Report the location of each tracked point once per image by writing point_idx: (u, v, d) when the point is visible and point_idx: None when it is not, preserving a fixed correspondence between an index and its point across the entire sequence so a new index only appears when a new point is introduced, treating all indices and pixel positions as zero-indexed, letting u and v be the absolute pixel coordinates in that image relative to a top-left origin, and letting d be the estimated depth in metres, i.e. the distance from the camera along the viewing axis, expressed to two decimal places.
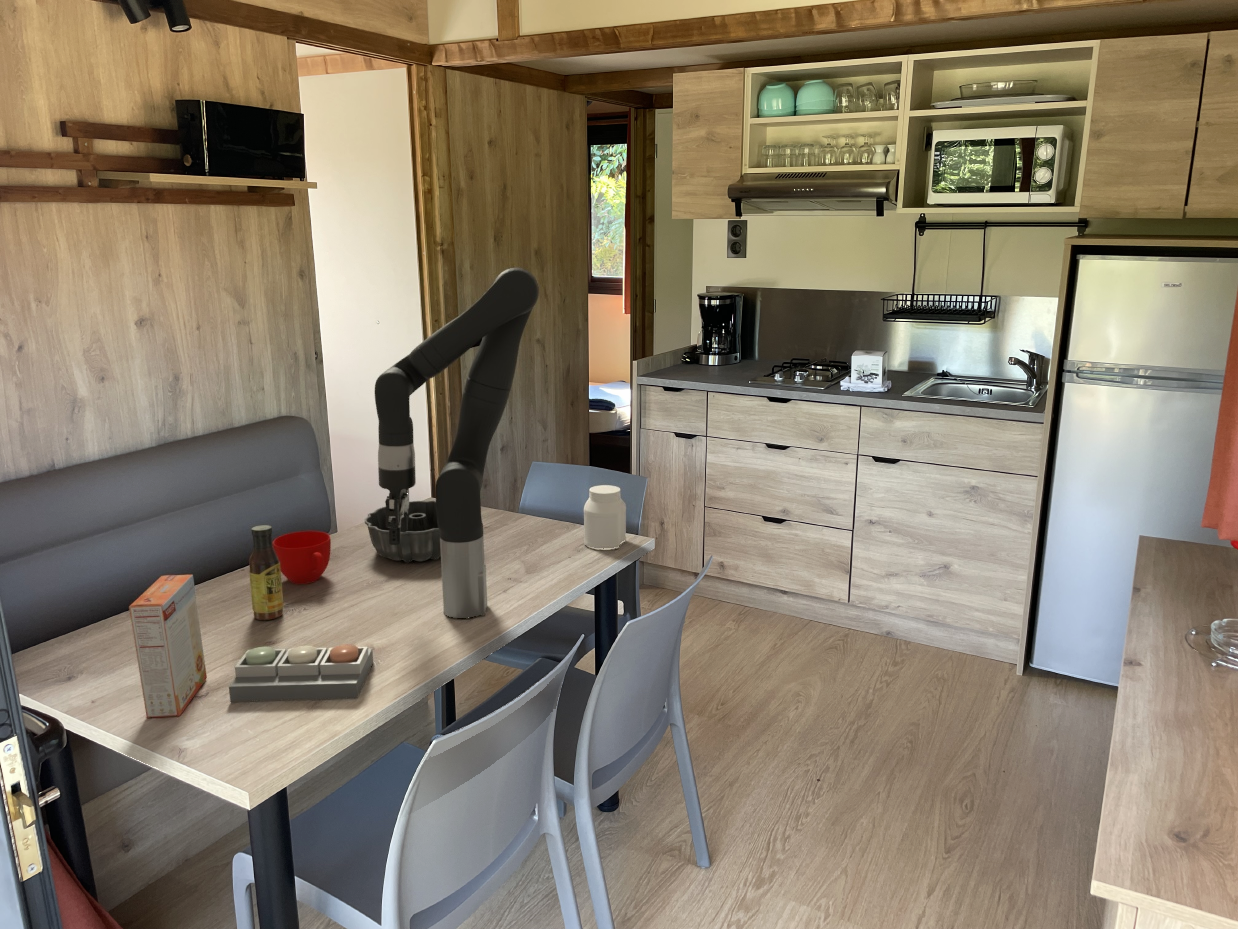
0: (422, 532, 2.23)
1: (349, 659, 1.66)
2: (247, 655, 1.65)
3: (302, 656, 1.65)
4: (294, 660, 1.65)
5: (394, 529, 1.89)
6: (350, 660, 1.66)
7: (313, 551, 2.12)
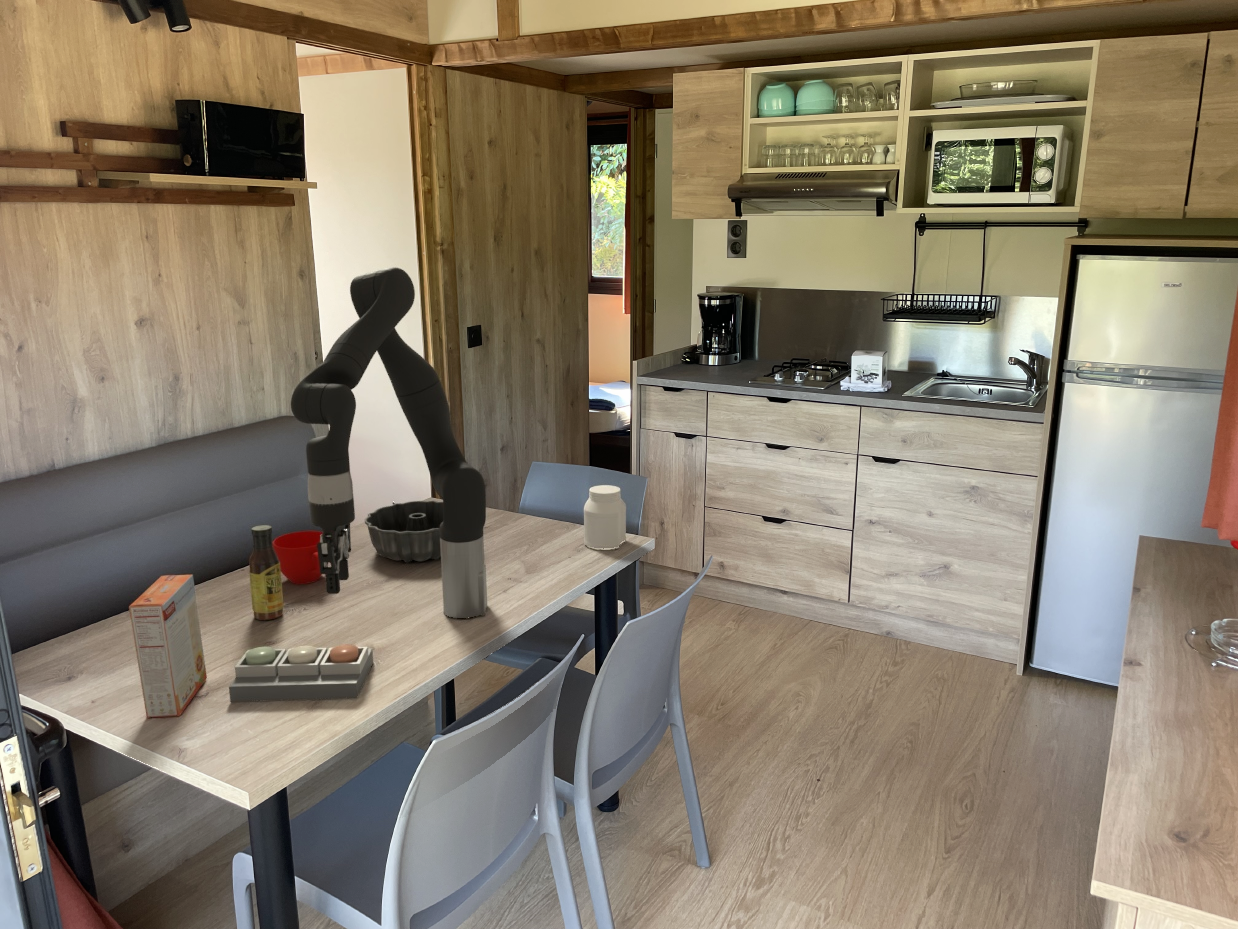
0: (422, 532, 2.23)
1: (349, 659, 1.66)
2: (247, 655, 1.65)
3: (302, 656, 1.65)
4: (294, 660, 1.65)
5: (331, 575, 1.59)
6: (350, 660, 1.66)
7: (313, 551, 2.12)
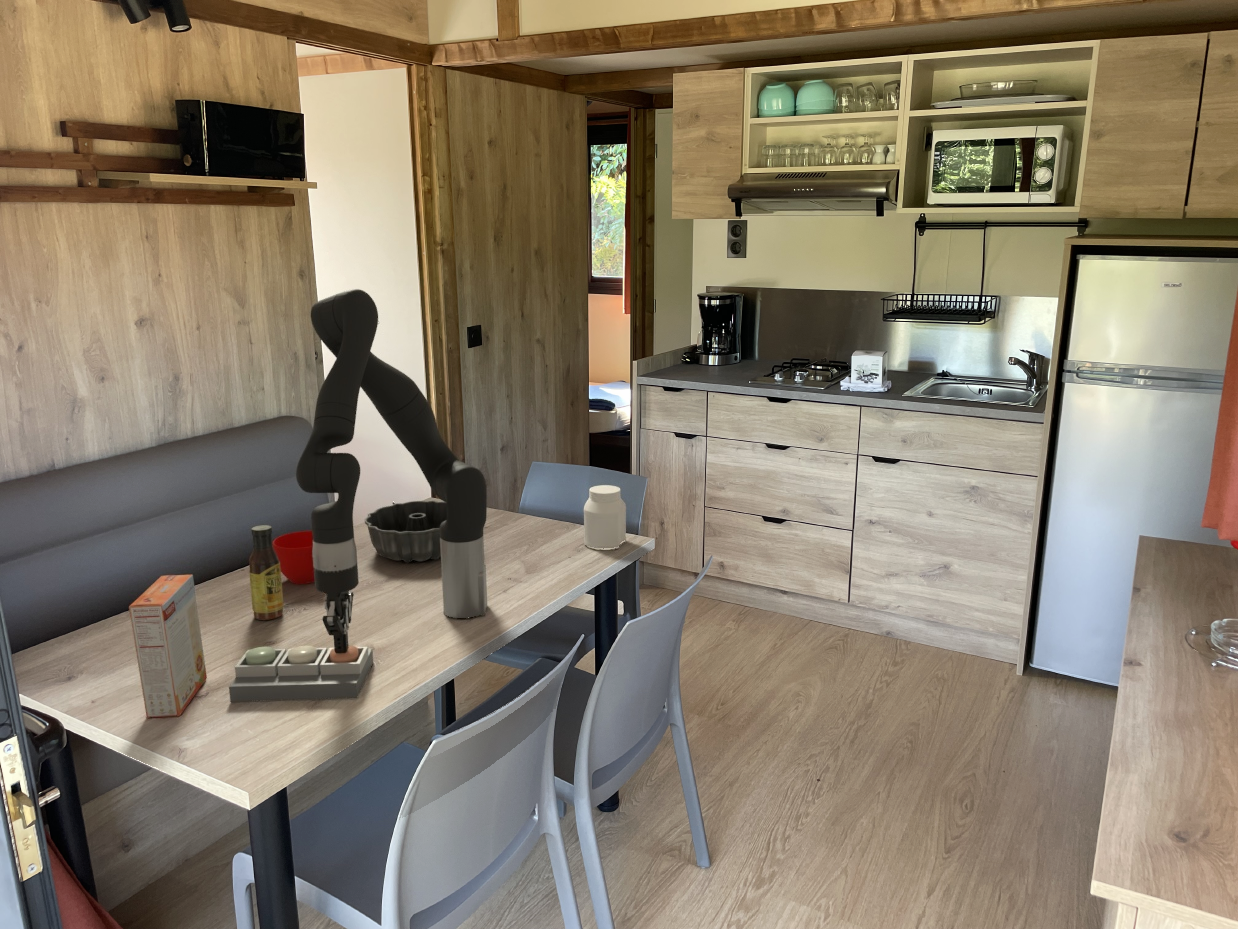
0: (422, 532, 2.23)
1: (349, 660, 1.66)
2: (247, 655, 1.65)
3: (302, 656, 1.65)
4: (294, 660, 1.65)
5: (339, 636, 1.65)
6: (350, 661, 1.66)
7: None
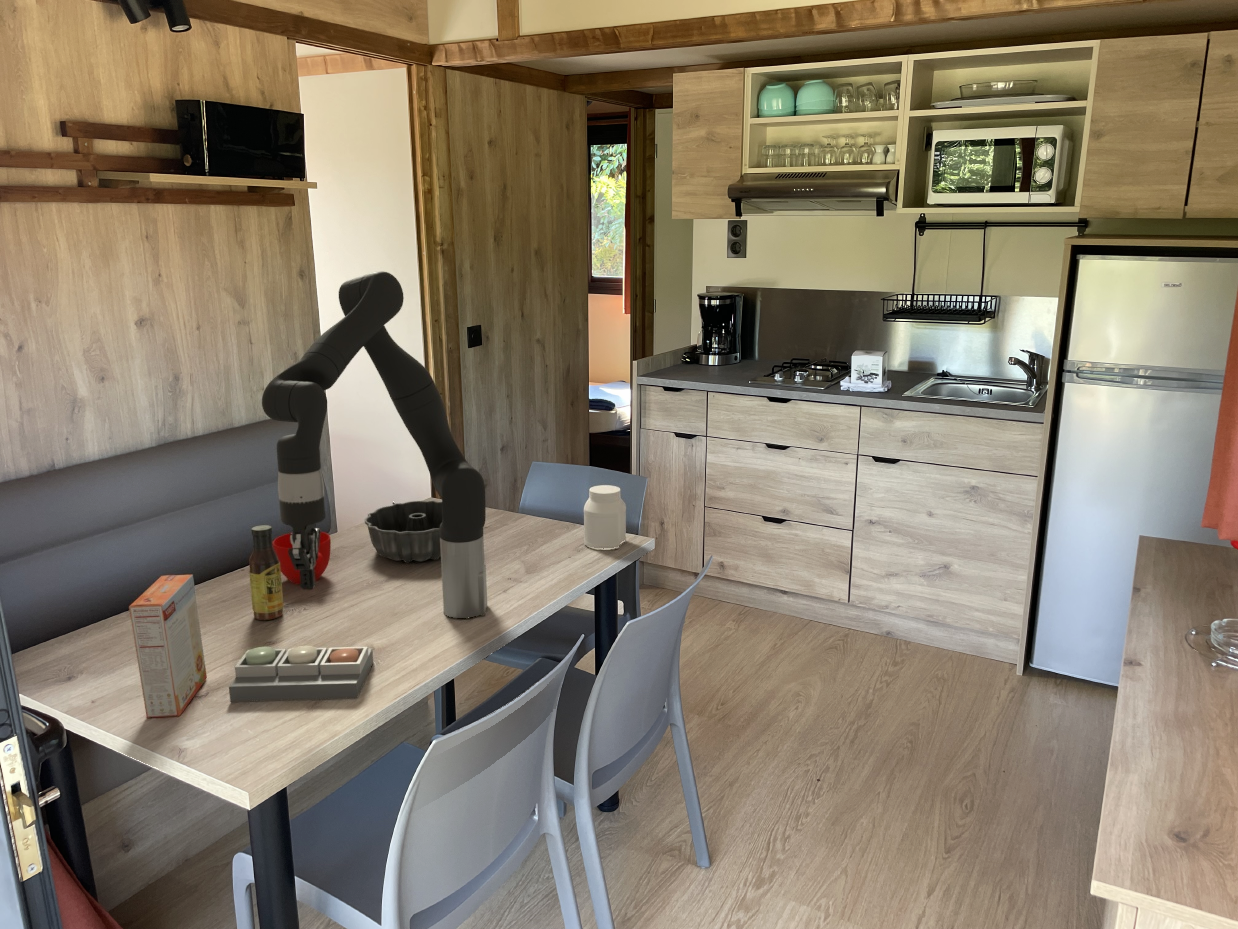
0: (422, 532, 2.23)
1: None
2: (247, 655, 1.65)
3: (302, 656, 1.65)
4: (294, 660, 1.65)
5: (305, 571, 1.61)
6: None
7: None
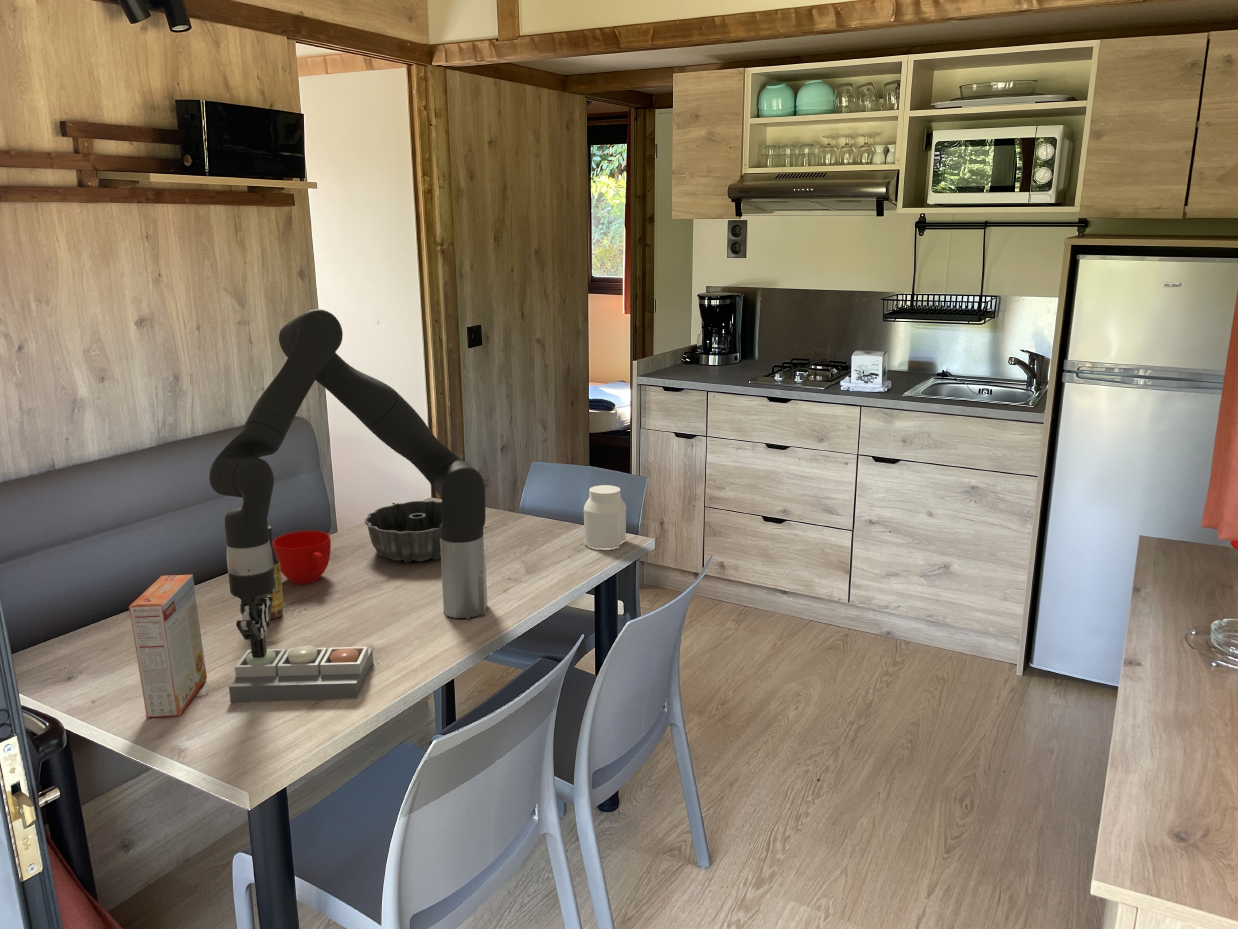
0: (422, 532, 2.23)
1: None
2: (247, 658, 1.66)
3: (302, 656, 1.65)
4: (294, 660, 1.65)
5: (256, 641, 1.64)
6: None
7: (313, 551, 2.12)
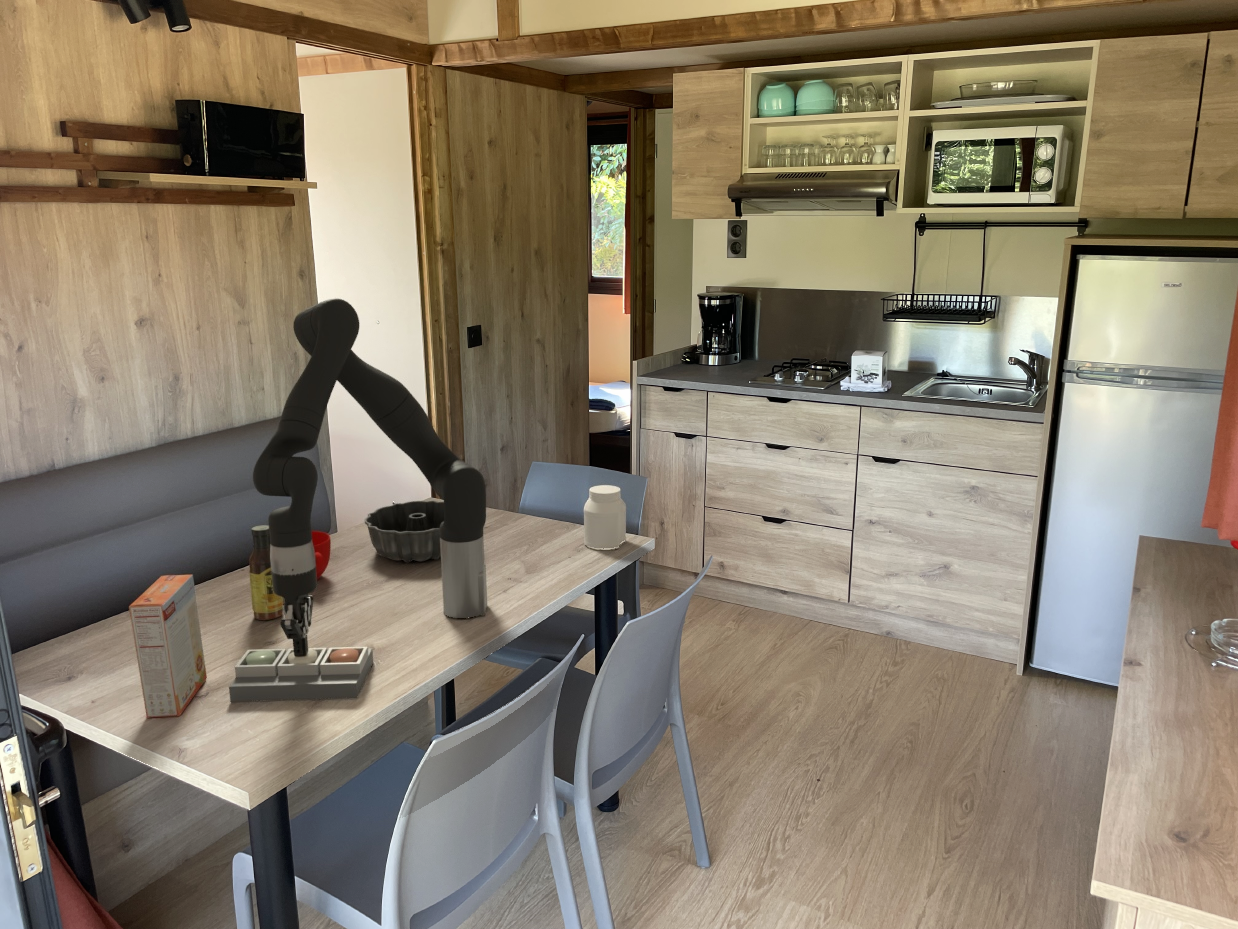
0: (422, 532, 2.23)
1: None
2: (247, 659, 1.66)
3: (302, 660, 1.65)
4: (294, 663, 1.65)
5: (298, 640, 1.65)
6: None
7: None
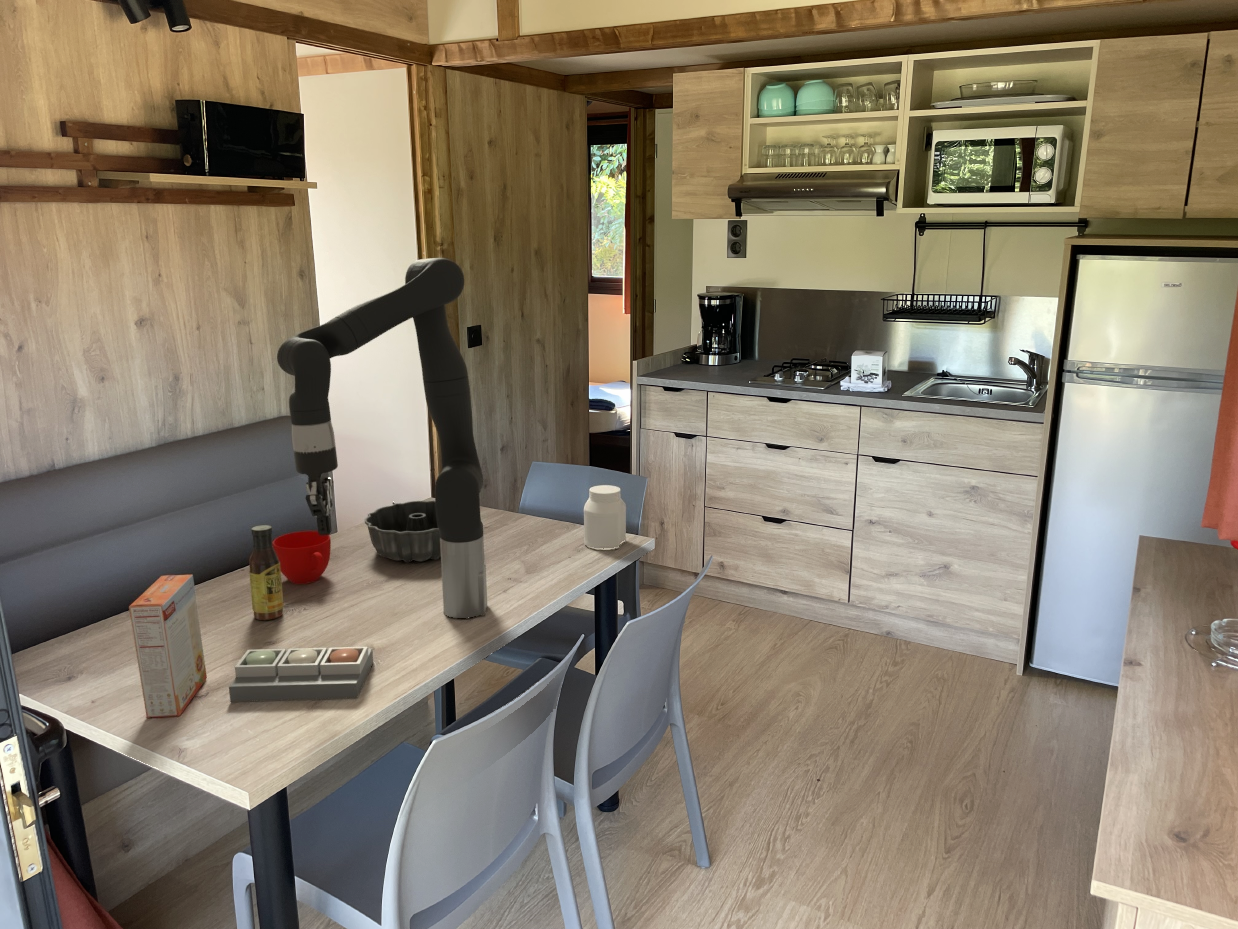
0: (422, 532, 2.23)
1: None
2: (247, 659, 1.66)
3: (302, 660, 1.65)
4: None
5: (322, 518, 1.73)
6: None
7: (313, 551, 2.12)
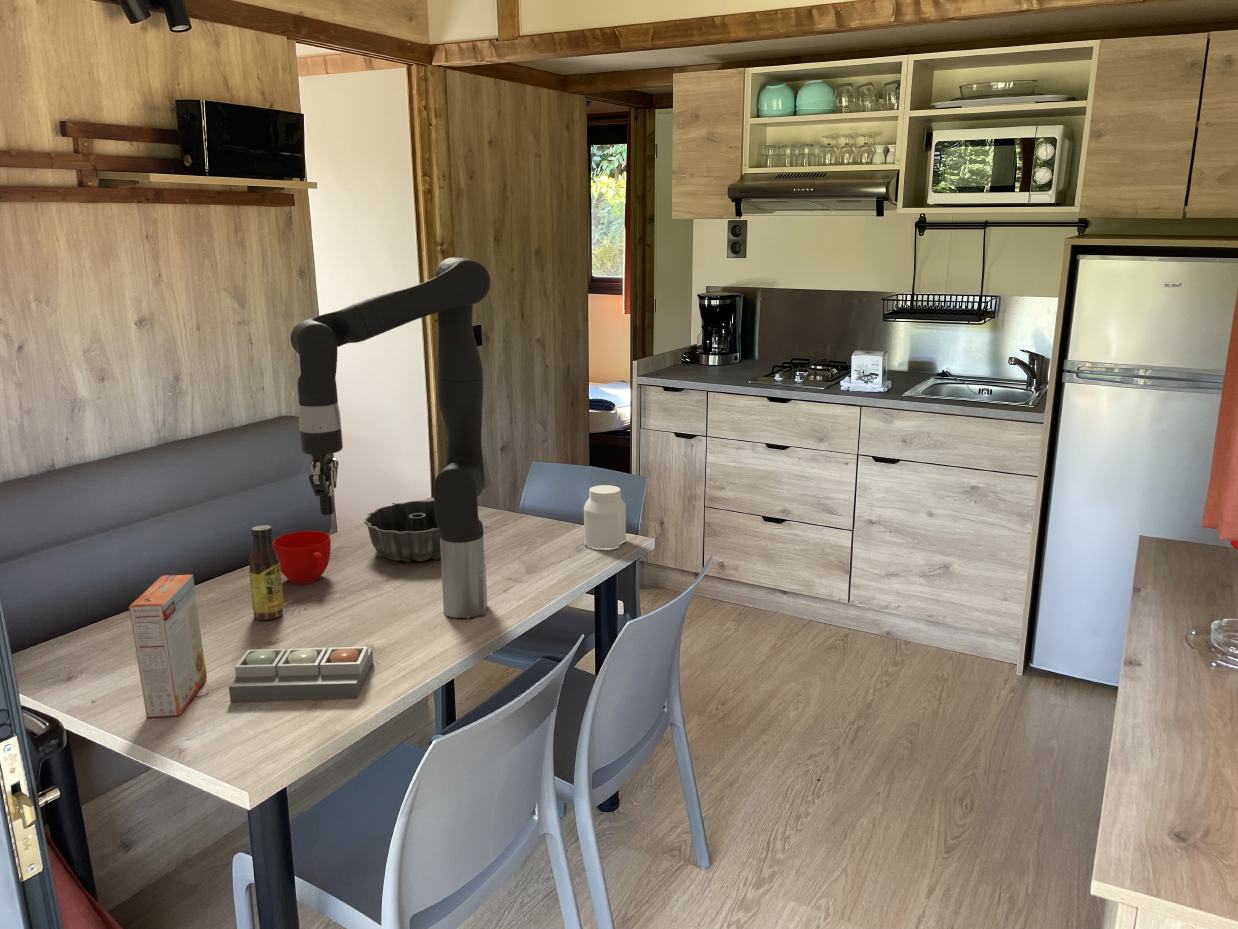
0: (422, 532, 2.23)
1: None
2: (247, 659, 1.66)
3: (302, 660, 1.65)
4: None
5: (325, 498, 1.76)
6: None
7: (313, 551, 2.12)
